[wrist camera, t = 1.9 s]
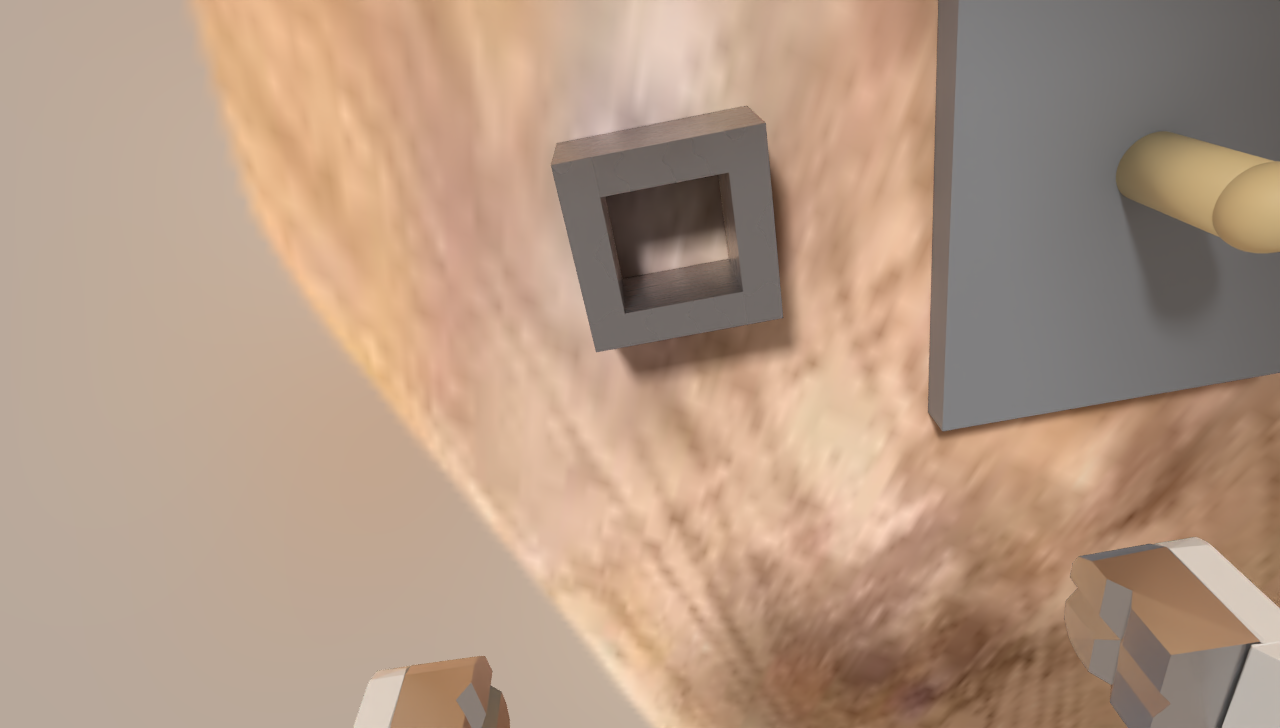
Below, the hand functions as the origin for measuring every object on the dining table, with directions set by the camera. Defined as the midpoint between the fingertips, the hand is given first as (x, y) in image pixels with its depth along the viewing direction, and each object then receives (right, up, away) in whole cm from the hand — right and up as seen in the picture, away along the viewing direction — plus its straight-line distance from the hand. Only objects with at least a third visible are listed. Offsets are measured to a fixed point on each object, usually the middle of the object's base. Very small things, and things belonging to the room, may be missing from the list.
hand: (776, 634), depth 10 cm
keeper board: (+16, +11, +16) cm, 26 cm away
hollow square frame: (-1, +9, +17) cm, 19 cm away
